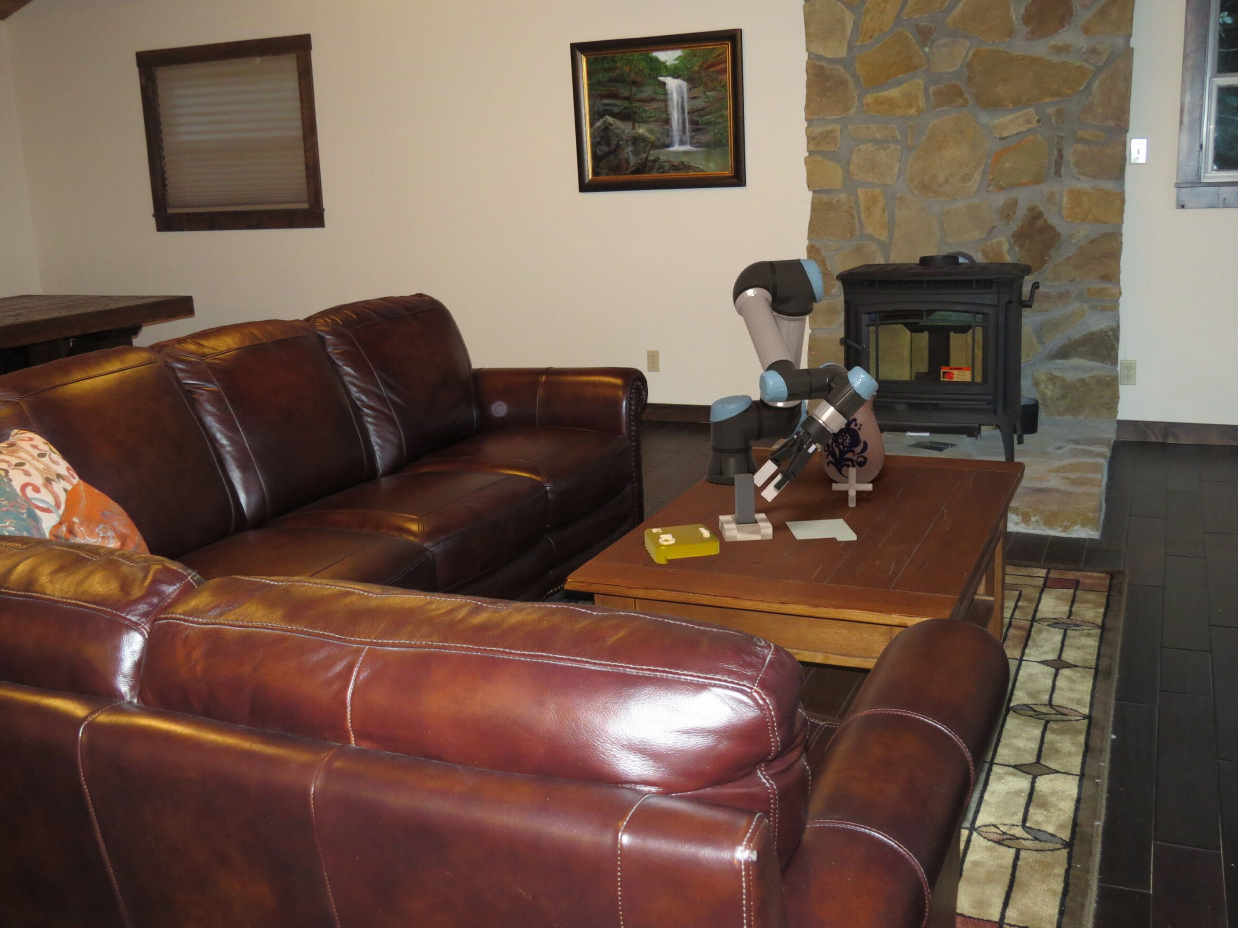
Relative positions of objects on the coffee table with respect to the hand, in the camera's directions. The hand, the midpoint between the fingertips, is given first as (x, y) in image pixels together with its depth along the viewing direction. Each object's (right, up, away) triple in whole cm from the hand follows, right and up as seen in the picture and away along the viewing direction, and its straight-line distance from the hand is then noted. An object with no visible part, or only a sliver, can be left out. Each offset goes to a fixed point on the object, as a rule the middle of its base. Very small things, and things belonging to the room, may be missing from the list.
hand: (759, 490), depth 265 cm
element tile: (-19, -14, -4) cm, 24 cm away
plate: (+15, -10, +4) cm, 19 cm away
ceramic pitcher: (+33, +2, +51) cm, 60 cm away
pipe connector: (+27, -5, +25) cm, 37 cm away
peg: (-3, -10, +3) cm, 11 cm away
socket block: (-3, -11, +4) cm, 12 cm away
